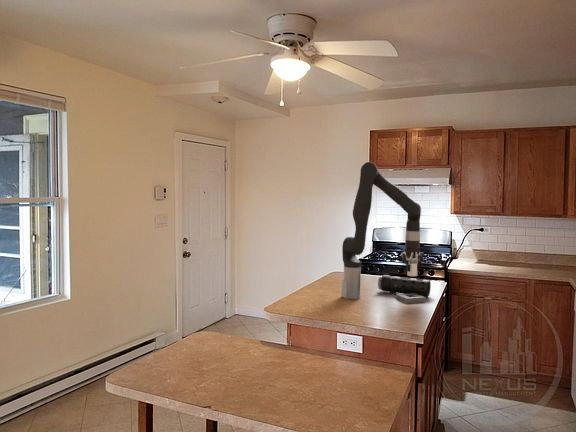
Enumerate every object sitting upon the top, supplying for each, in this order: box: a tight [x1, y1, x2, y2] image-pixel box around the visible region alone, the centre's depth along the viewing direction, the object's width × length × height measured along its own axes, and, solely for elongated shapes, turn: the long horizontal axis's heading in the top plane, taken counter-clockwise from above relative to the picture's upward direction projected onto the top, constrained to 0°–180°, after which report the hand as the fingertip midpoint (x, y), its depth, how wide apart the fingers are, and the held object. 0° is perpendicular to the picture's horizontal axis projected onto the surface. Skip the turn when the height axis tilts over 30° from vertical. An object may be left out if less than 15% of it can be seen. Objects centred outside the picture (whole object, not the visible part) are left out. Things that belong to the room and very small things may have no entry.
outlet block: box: [395, 293, 427, 304], centre depth 234 cm, size 12×10×3 cm
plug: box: [406, 260, 418, 277], centre depth 233 cm, size 3×4×8 cm
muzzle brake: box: [377, 274, 432, 299], centre depth 248 cm, size 10×28×10 cm, turn 61°
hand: (411, 271), depth 234 cm, fingers closed on plug, 3 cm apart
